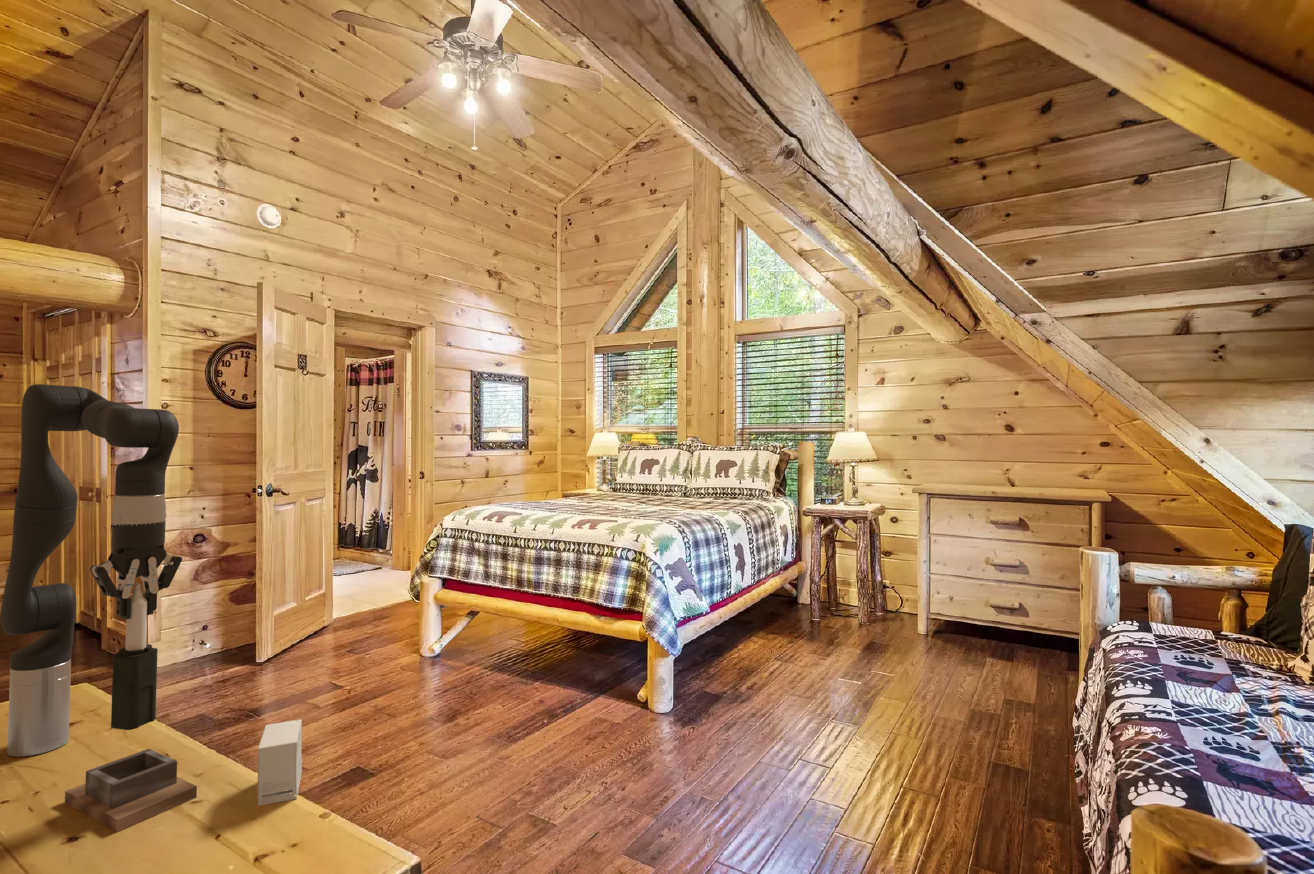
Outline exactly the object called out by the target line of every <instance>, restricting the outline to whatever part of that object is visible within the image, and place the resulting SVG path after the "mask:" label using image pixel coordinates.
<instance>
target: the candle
mask: <svg viewBox="0 0 1314 874" xmlns="http://www.w3.org/2000/svg"><path fill="white" fill-rule="evenodd" d="M141 586H142V585H141V583H139V582H136V583H134V589H133V593H132V595H131V596H130V598H131V618H130V619H126V621H125V647H121V648H120V649H118V652H116V653H114V654H113V655H112V679H111V680H112V684H111V685H112V686H111V713H110V715H111V717H110V719H111V720H110V724H111V725H110V728H112V729H117V730H124V731H131V730H135V729H138V728H140V727H142V726H144V725H146V724H149V723H152V722H154V721H156V718H157V717H156V715H157V685H158V684H157V683H158V652H159V651H158V648H157V647H153V645H152V644H150V643H147V636H148V635H147V631H148V630H147V628H148V627H147V626H148V615H147V604H148V602H147V600H146V598H145V597H144V596H143V592H142V589H141Z"/></svg>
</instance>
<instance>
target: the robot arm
mask: <svg viewBox="0 0 1314 874" xmlns="http://www.w3.org/2000/svg"><path fill="white" fill-rule="evenodd" d="M20 414H21V416H20V417H21V420H20V426H21V427H20V428H21V429H20V430H21V431H20V437H21V438H20V441H21V442H20V448H21V449H20V463H19V464H20V465H19V466H20V467H19V474H18V481H17V489H16V497H15V502H14V512H13V524H12V525H13V526H12V540H11V541H12V542H11V551H10V552H11V553H10V558H9V565H8V571H7V576H6V580H5V585H4V590H3V595H2V600H1V607H0V624H1V627H2V628H1V629H2V630H3V632H4V633H6V635H9V636H20V635H26V634H27V635H28V634H32V633H37V632H43V631H44V632H45V633H44V634H42V636H41V637H39V638H38V639H36V640H35V641H34V642H32V643H30V644H28V645H26V646H24V647H22V648H20V649H17V650H15V652H13V653H12V654H11V656H10V660H9V695H8V696H9V697H8V698H9V699H8V722H7V724H8V727H7V751H6V752H7V755H8V756H10V757H16V758H18V757H19V758H20V757H29V756H35V755H39V754H44V753H48V752H51V751H54V750H55V749H58V748H61V747H63V746H64V745H65V744H67V743H68V742H69V737H70V736H69V735H70V710H71V709H70V708H71V707H70V706H71V681H72V680H71V676H72V675H71V674H72V673H71V671H72V652H73V651H72V650H73V646H74V633H75V621H76V614H77V597H76V592H75V589H74V587H73V586H72V585H71V584H70V583H68V582H66V583H65V582H61V583H60V582H59V583H51V584H45V585H44V584H43V585H37V586H33V585H34V582H35V578H36V577H37V574H38V573H39V570H40V568H41V567H42V565H43V564H44V562H46V560H47V559H48V558H49V556H51V554H52V553H53V552H55V550H56V549H57V548H58V547H59V546H60V545H61V544H62V542H64V541H65V539H66V538H67V537H68V536H69V534H70V533H71V531H72V530H73V528H74V526H75V524H76V516H77V509H78V508H77V507H78V501H79V500H78V493H77V490H76V488H75V486H74V485H73V483H72V481H71V480H70V479H69V477H68V476H67V474H66V473H64V471H63V469H62V468H61V467H60V466H59V465H58V462H57V461H56V460H55V457H53V454H52V453H51V449H50V444H49V432H82V431H88V432H89V433H91V434H92V435H94V436H97V437H98V438H103V439H105V440H106V442H107V444H108V445H110V446H113V447H115V448H116V447H117V448H124V449H125V448H128V449H129V448H130V449H131V448H132V449H133V448H135V449H136V448H137V449H138V448H139V449H140V448H141V449H143V448H144V449H145V448H146V449H147V450H146V452H145V453H144V455H143V456H142V457H141V458H139V459H134V460H129V461H124V462H121V463H119V464H118V465H117V467H116V468H115V475H114V476H115V477H114V480H115V481H114V484H115V485H114V499H113V504H112V510H111V511H112V514H111V517H112V519H111V541H110V542H111V544H110V547H111V552H110V554H109V556H108V558H107V560H106V561H104V562H102V563H100V564H98V565H96V564H94V565H92V566H90V567H89V571H90V573H91V575H92V576H93V579H94V580H95V582H96V584H97V586H98V588H99V590H100V591H101V593H102V595H104V596H108V597H111V598H115V599H116V608H115V609H116V610H115V611H116V612H115V614H116V616H117V617H119V619H121V620H124V621H125V620H126V619H130V618H131V593H132V592H131V591H132V589H133V585H135V582H136V578H138V577H140V579H141V581H142V585H143V590H144V592H145V593H143V592H142V594H143V596H144V597H145V598H146V600H147V602H148V604H147V616H151V615H153V614H154V611H156V610H157V607H158V593H159V592H160V591H161V590H164V589H168V588H169V587H170V585H171V583H172V581H173V580H174V578H175V576H176V573H177V572H178V569H179V567H180V565H181V564H182V562H183V557H182V556H178V555H173V554H172V555H171V554H168V553H167V551H166V548H165V543H166V521H167V520H166V518H167V503H166V494H165V493H166V490H165V489H166V473H167V467H168V464H169V461H170V459H171V455H172V453H173V449H174V447H175V445H176V442H177V441H178V437H179V432H180V425H179V424H180V423H179V421H178V419H177V418H176V415H174V413H172V412H171V411H169V410H167V409H160V408H159V409H157V408H137V407H134V406H132V405H129V404H126V403H122V402H118V401H112V400H108V399H107V398H105V397H103V396H102V395H100V394H99V393H97V392H96V391H94V390H92V389H89V388H87V387H83V386H75V385H74V386H72V385H71V386H69V385H57V384H55V385H54V384H42V383H39V384H37V383H35V384H31V385H30V386H28V387H27V388H26V390H25V391H24V394H23V397H22V403H21V413H20ZM161 564H162V565H163V568H162V570H161V571H160V573H159V575H158V568H159V567H160V566H161ZM111 568H113V569H114V570H115V572H116V573H117V577H116V585H115V584H114V582H113V580H112V578H111V577H110V574H112V569H111Z"/></svg>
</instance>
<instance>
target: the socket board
mask: <svg viewBox="0 0 1314 874" xmlns="http://www.w3.org/2000/svg"><path fill="white" fill-rule="evenodd" d="M197 788H198V786H197V785H195V784H193V783H191V782H189V781H187V780H184V779H182V778H180V777H178V760H176V759H173V758H172V757H169V756H166V755H164V754H162V753H160V752H157V751H155V750H153V749H152V748H151V749H150V748H147V749H143V750H141V751H138V752H135V753H132V754H130V755H128V756H125V757H122V758H119V759H115V760H112V761H110V762H107V763H105V764H101V765H100V766H96V767H93V768H90V769H88V770H86V771H85V782H84V783H83V784H80V785H78V786H75V787H72V788H69V789H66V790H64V803H65V804H67V805H69V806H70V807H72V808H74V809H76V810H77V811H79V812H81V813H83V814H84V815H86V816H88V817H89V818H91V817H92V818H91V819H93V818H94V820H95V821H97V822H98V821H99V823H100V824H102V825H104V826H106V827H108V829H111V830H113V831H114V832H117V833H118V832H120V831H122V830H125V829H127V828H130V827H132V826H134V825H137V824H139V823H140V822H143V821H145V820H148V819H150V818H152V817H154V816H157V815H159V814H161V813H164V812H167V811H168V810H170V809H173V808H175V807H177V806H180V805H183V804H184V803H187V802H189V801H190V800H194V799H196V798H197V796H198V795H197V791H198V789H197Z"/></svg>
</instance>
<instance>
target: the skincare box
mask: <svg viewBox="0 0 1314 874" xmlns="http://www.w3.org/2000/svg"><path fill="white" fill-rule="evenodd" d="M302 722H303V721H302V719H301V718H300V719H296V720H295V719H294V720H289V721H288V720H287V721H283V722H282V721H281V722H277V723H276V722H274V723H271V724H270V723H268V724H266V725H265V727H264V729H263V733H262V735H261V739H260V741H259V744H258V747H257V807H259V806H267V805H271V804H275V803H280V802H287V801H292V800H296V799H298V794H299V790H300V789H299V788H300V786H301V785H300V784H301V778H302V772H303V764H302V762H303V759H302V733H303V731H302V727H303V725H302V724H303V723H302ZM286 790H287V791H286ZM290 793H291V794H290ZM294 795H296V796H297V797H296V796H294Z"/></svg>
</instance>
